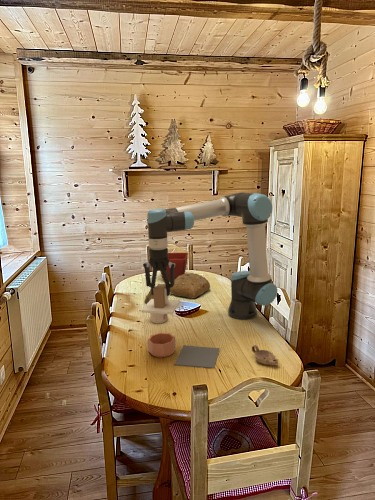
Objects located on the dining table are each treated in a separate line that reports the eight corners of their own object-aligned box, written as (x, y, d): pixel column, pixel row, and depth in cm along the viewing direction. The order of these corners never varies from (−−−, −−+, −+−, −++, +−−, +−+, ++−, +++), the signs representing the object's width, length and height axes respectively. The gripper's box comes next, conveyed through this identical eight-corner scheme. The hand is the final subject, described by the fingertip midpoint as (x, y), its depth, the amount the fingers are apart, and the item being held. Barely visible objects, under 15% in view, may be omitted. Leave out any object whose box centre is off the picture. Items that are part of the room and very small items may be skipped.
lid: (180, 302, 160) (179, 282, 158) (172, 314, 147) (171, 292, 145) (151, 300, 163) (150, 281, 160) (141, 312, 150) (140, 291, 148)
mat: (219, 349, 160) (219, 348, 160) (213, 368, 145) (213, 367, 145) (183, 346, 164) (183, 345, 164) (174, 365, 148) (174, 364, 148)
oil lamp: (282, 365, 146) (283, 354, 145) (268, 371, 142) (269, 359, 141) (259, 352, 157) (259, 341, 156) (246, 357, 153) (246, 346, 152)
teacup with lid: (167, 323, 187) (166, 302, 185) (149, 324, 188) (148, 302, 185) (169, 314, 199) (168, 293, 197) (152, 314, 199) (151, 294, 197)
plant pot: (162, 274, 271) (161, 252, 268) (188, 274, 269) (188, 252, 266) (158, 283, 253) (157, 259, 249) (186, 283, 251) (185, 259, 247)
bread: (195, 301, 217) (194, 281, 215) (165, 295, 229) (164, 277, 226) (214, 289, 237) (214, 271, 235) (186, 284, 249) (186, 267, 246)
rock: (142, 302, 212) (159, 299, 211) (141, 287, 216) (158, 285, 214) (147, 307, 222) (163, 304, 221) (146, 293, 225) (162, 291, 224)
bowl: (177, 346, 164) (177, 333, 162) (171, 359, 153) (170, 345, 152) (153, 344, 166) (153, 332, 165) (145, 356, 156) (145, 343, 154)
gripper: (135, 249, 147) (138, 304, 153) (176, 250, 144) (179, 307, 149) (141, 245, 155) (144, 298, 160) (181, 246, 151) (183, 300, 156)
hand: (161, 302), depth 154 cm, fingers closed on lid, 4 cm apart
